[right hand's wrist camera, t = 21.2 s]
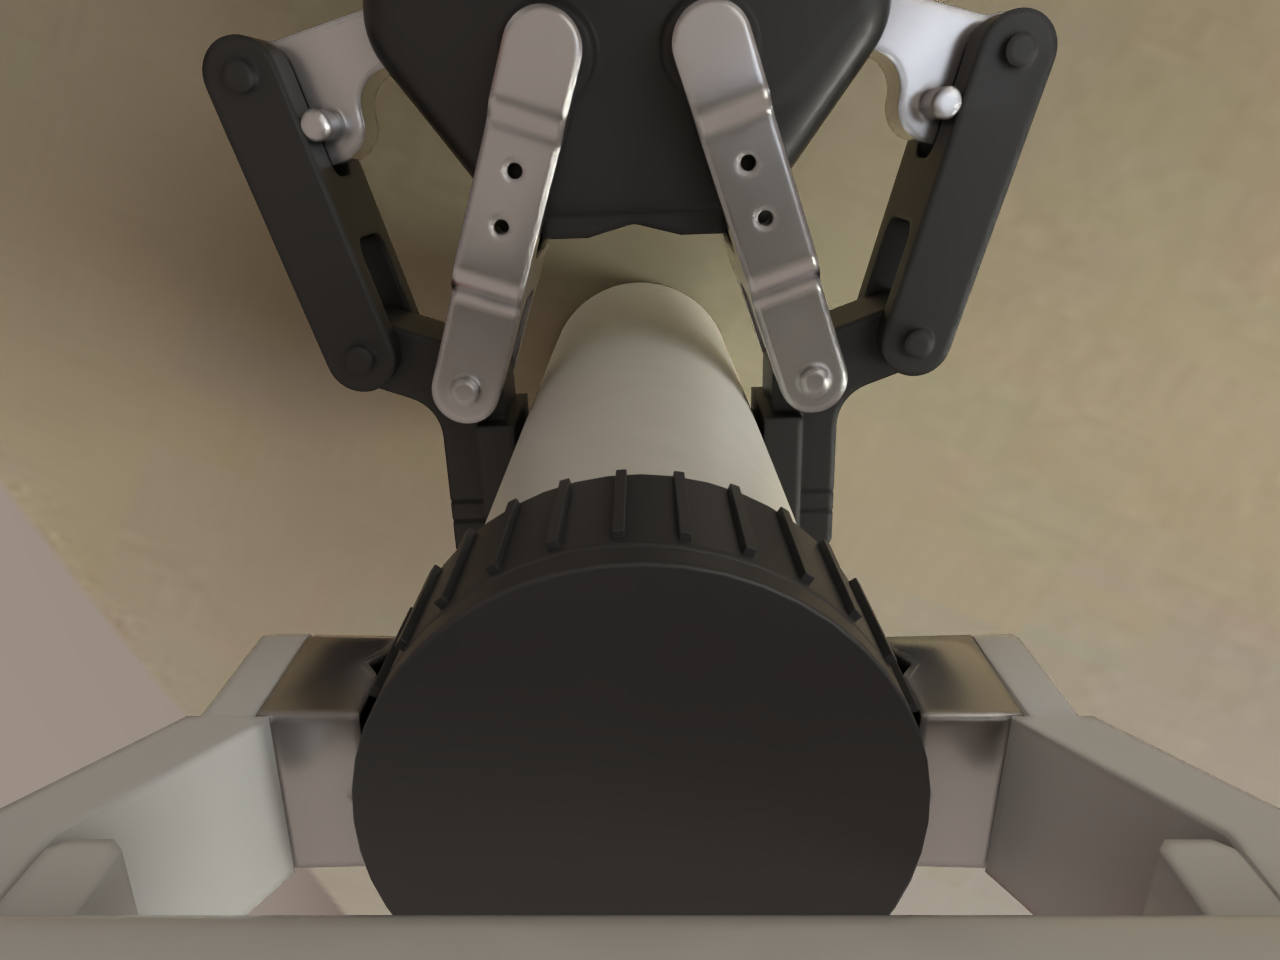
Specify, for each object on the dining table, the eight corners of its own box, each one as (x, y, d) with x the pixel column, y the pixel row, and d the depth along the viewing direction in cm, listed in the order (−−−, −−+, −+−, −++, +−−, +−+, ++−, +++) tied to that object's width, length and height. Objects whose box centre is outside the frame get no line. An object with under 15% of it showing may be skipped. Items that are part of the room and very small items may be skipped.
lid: (874, 434, 9) (937, 516, 7) (889, 853, 11) (944, 1010, 9) (350, 497, 9) (271, 593, 7) (453, 898, 11) (414, 1059, 9)
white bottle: (524, 404, 24) (339, 840, 9) (603, 249, 23) (533, 469, 8) (674, 480, 25) (725, 994, 10) (760, 334, 24) (966, 682, 9)
